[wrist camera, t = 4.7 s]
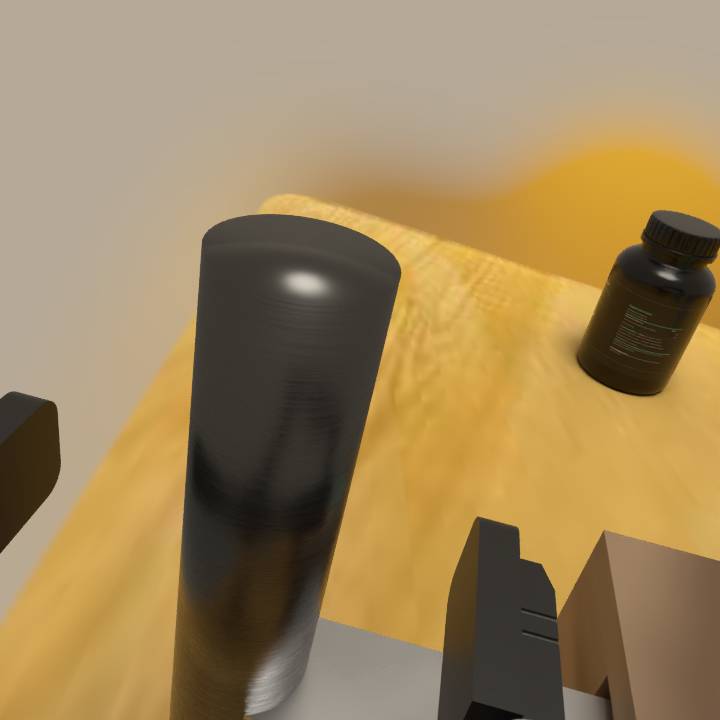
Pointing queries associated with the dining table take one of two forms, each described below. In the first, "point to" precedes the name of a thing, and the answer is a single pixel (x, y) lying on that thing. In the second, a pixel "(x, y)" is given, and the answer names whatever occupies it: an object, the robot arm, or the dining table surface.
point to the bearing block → (644, 631)
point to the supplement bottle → (651, 304)
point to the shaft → (287, 483)
